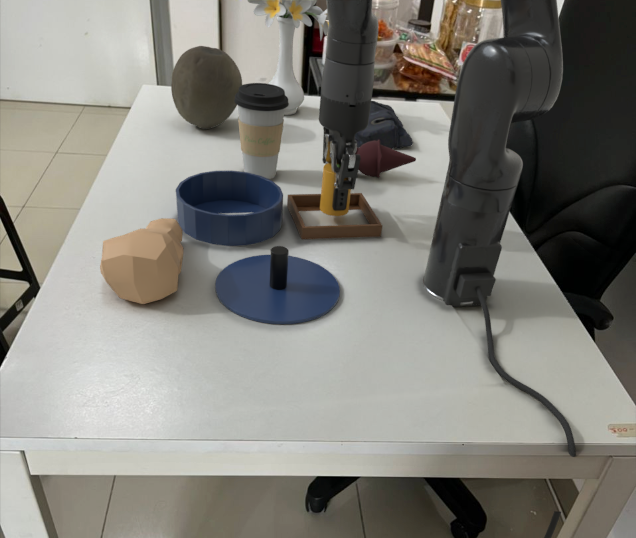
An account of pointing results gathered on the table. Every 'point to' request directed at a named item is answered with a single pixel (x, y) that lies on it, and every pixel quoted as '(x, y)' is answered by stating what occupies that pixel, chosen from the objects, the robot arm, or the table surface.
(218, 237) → the pot
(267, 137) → the coffee cup
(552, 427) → the table surface
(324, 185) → the pineapple
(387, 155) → the icecream
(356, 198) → the tray
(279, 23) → the flower vase
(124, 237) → the squash
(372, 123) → the dark slate chunk
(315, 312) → the lid
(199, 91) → the cantaloupe
